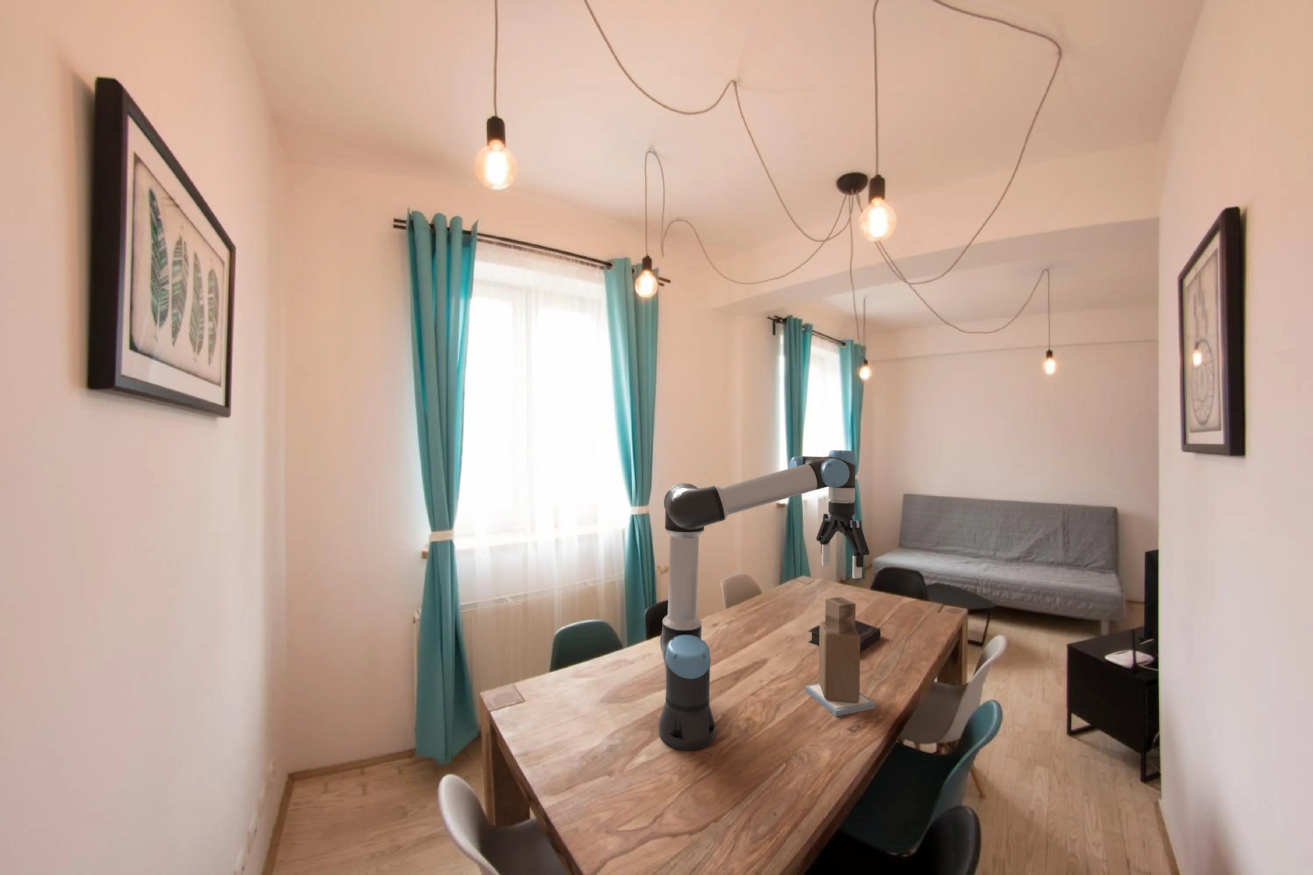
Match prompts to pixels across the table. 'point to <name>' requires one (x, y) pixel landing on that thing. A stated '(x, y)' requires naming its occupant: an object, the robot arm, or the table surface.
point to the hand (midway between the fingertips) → (840, 571)
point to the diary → (865, 632)
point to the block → (839, 664)
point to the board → (839, 702)
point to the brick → (840, 614)
